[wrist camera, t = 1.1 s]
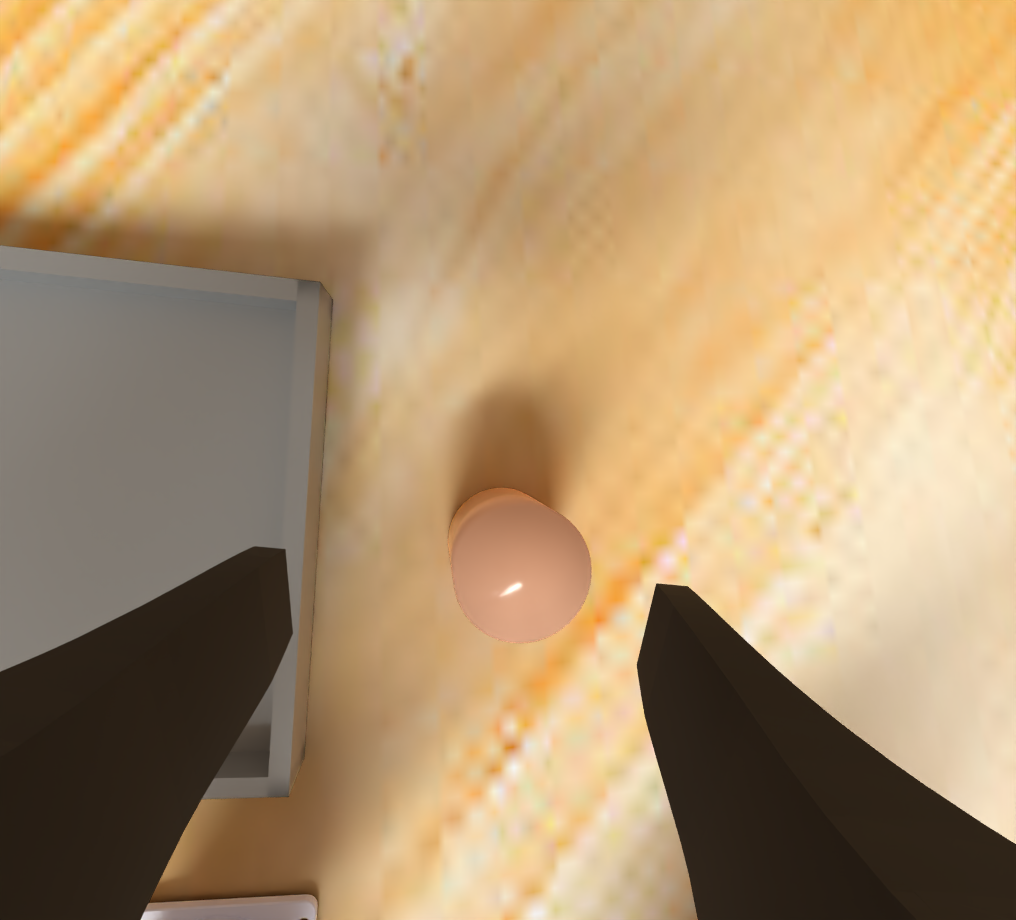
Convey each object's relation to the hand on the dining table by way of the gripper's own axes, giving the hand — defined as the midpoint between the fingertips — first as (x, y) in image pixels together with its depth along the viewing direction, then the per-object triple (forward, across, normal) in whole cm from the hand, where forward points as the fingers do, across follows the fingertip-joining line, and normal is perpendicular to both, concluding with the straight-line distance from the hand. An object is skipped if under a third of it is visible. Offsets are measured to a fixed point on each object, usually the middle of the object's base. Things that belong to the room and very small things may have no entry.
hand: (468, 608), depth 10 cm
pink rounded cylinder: (+12, -1, +6) cm, 14 cm away
